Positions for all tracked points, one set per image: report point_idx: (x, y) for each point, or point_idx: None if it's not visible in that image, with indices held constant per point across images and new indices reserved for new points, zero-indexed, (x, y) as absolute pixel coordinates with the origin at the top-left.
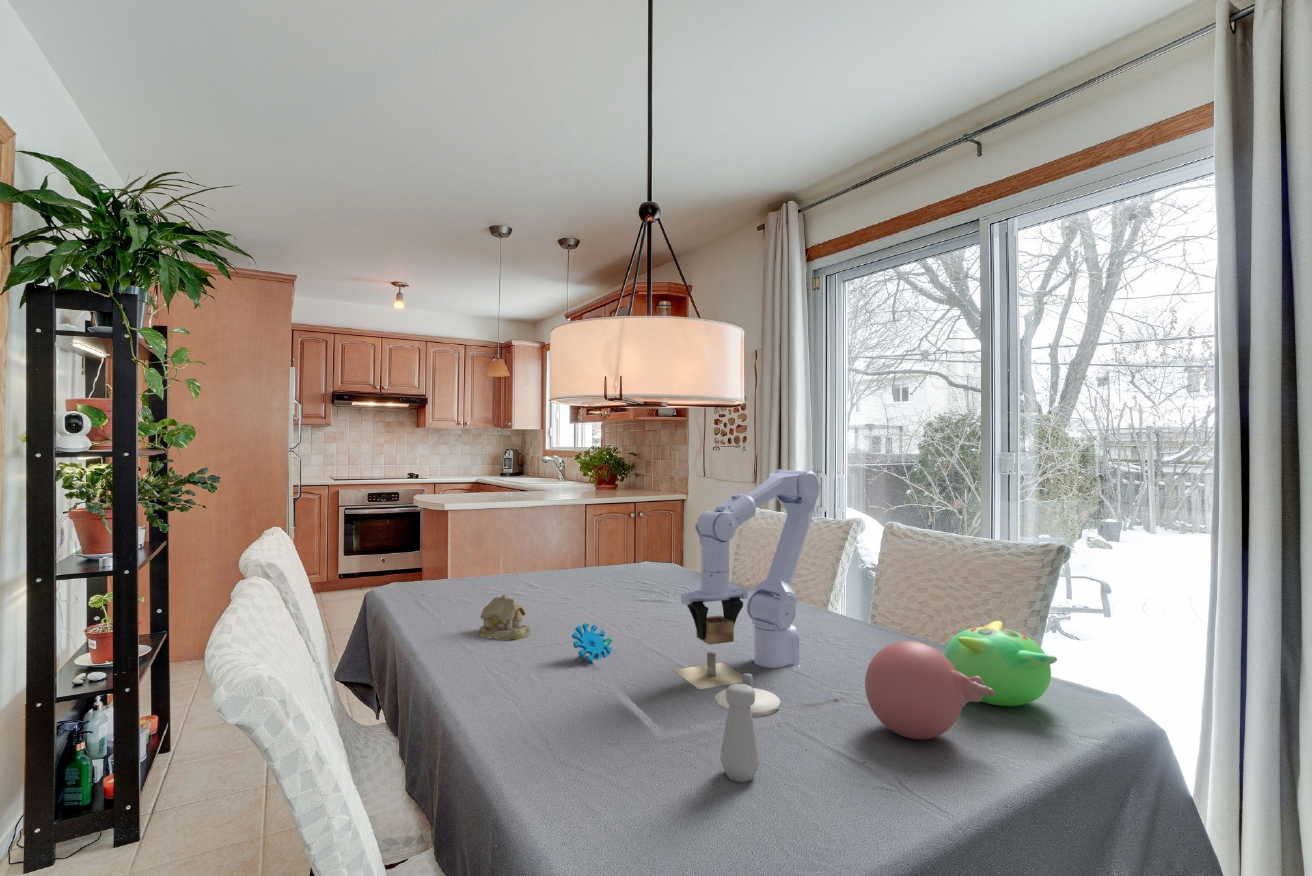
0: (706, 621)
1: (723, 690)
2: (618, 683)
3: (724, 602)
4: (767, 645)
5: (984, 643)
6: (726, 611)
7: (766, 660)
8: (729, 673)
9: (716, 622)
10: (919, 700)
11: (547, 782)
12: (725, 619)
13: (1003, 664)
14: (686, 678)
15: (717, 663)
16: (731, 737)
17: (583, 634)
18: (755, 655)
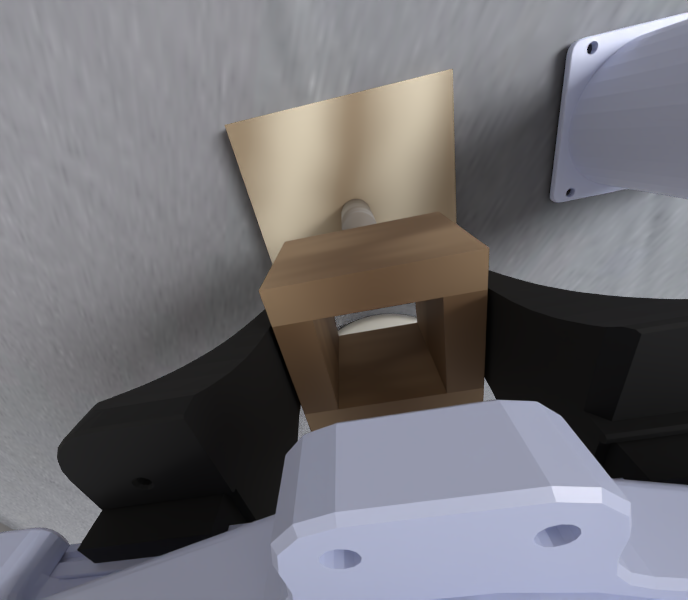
0: (313, 384)
1: (351, 331)
2: (37, 176)
3: (577, 385)
4: (662, 186)
5: None
6: (519, 359)
7: (603, 174)
8: (422, 210)
9: (371, 409)
10: None
11: (51, 510)
12: (461, 364)
13: None
14: (266, 227)
15: (427, 79)
16: None
17: None
18: (602, 112)
